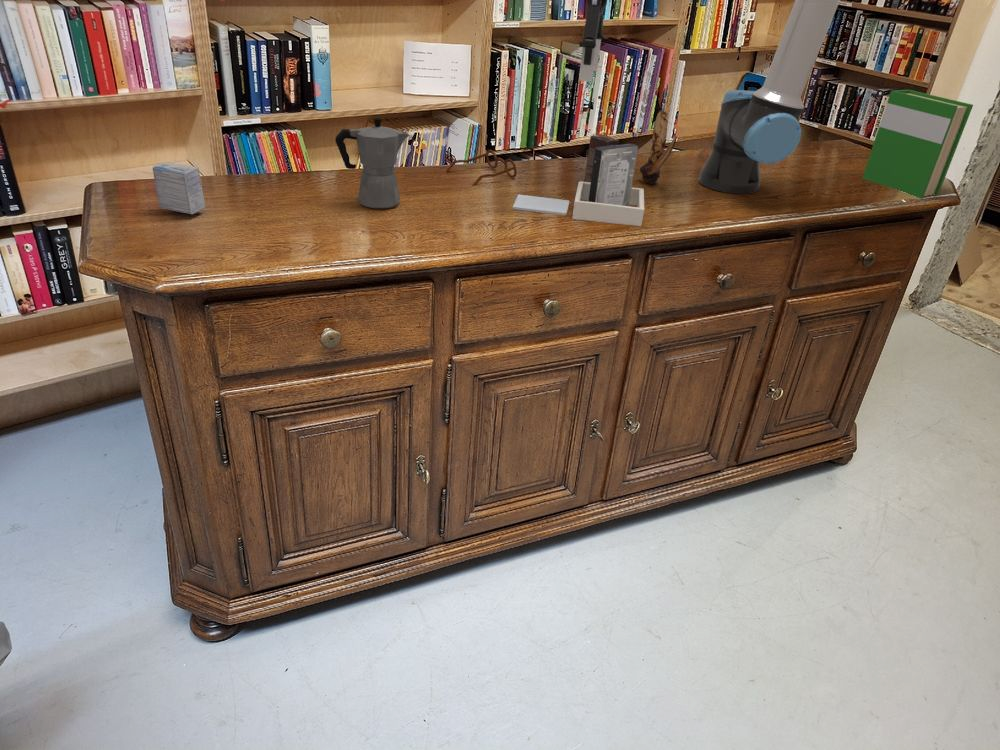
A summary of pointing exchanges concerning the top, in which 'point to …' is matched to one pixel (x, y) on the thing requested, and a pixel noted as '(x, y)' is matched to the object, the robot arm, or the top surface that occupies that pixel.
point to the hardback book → (916, 142)
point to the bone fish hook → (657, 150)
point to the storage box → (608, 208)
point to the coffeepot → (375, 162)
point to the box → (594, 142)
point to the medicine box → (178, 187)
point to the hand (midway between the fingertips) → (588, 75)
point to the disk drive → (613, 174)
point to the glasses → (489, 165)
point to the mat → (541, 204)
